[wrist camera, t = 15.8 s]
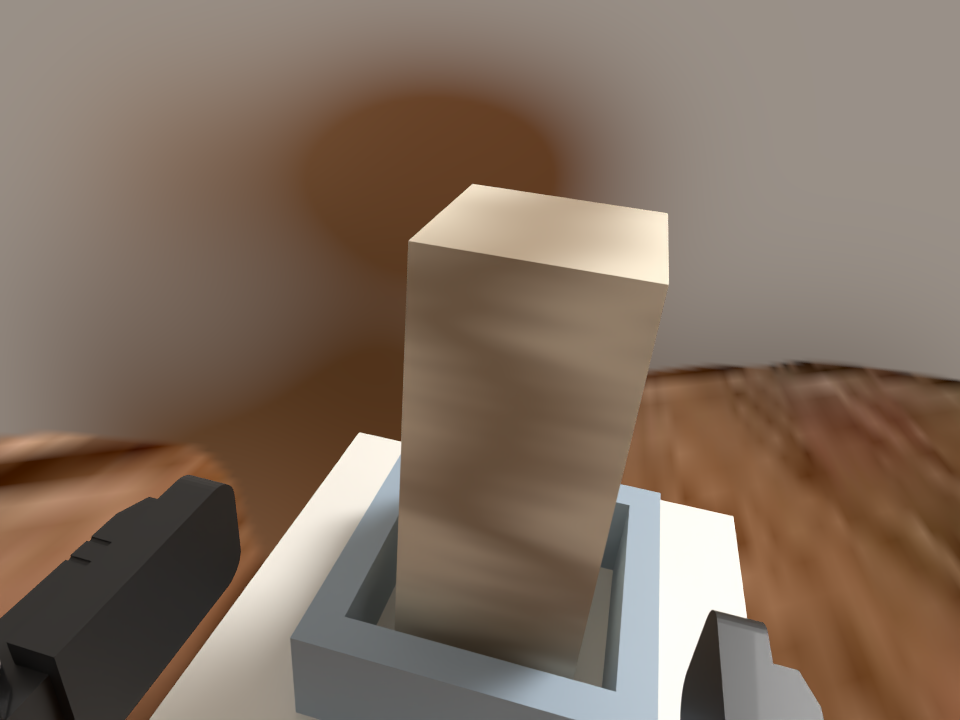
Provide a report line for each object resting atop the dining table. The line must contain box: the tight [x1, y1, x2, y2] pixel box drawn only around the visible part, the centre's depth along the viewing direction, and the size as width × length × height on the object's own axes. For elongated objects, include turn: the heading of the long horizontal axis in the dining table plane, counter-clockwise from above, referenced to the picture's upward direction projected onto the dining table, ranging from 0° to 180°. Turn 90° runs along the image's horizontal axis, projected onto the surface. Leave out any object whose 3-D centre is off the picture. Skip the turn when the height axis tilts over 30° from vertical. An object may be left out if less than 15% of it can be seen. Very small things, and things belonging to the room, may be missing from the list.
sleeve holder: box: [149, 433, 747, 720], centre depth 20 cm, size 16×16×4 cm
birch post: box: [394, 184, 669, 680], centre depth 18 cm, size 5×5×13 cm
